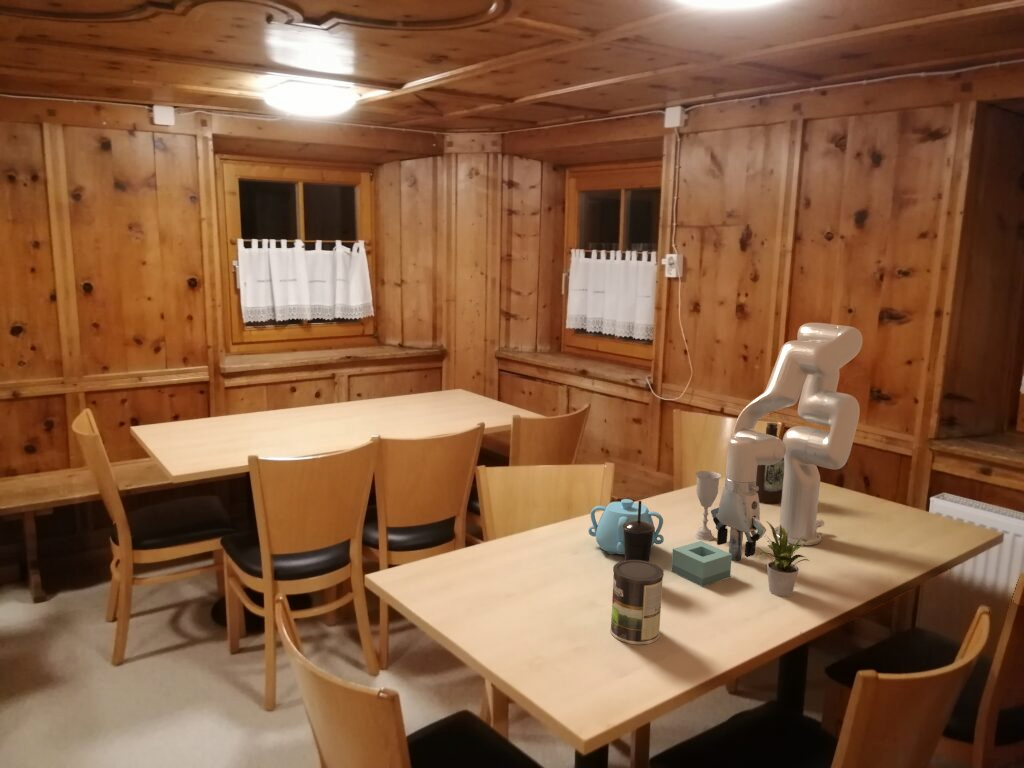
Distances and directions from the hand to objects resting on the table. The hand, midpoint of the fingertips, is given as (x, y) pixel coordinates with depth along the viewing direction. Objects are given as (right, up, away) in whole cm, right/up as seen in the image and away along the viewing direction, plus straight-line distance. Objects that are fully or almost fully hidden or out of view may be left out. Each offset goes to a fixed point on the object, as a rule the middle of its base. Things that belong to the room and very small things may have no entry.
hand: (735, 549), depth 203 cm
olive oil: (+24, +6, +49) cm, 54 cm away
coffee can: (-32, -9, -39) cm, 51 cm away
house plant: (+4, -6, -17) cm, 19 cm away
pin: (0, -3, 0) cm, 3 cm away
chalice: (-4, 0, +15) cm, 16 cm away
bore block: (-11, -4, -9) cm, 15 cm away
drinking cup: (-28, -5, -13) cm, 31 cm away
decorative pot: (-28, -1, +6) cm, 28 cm away
